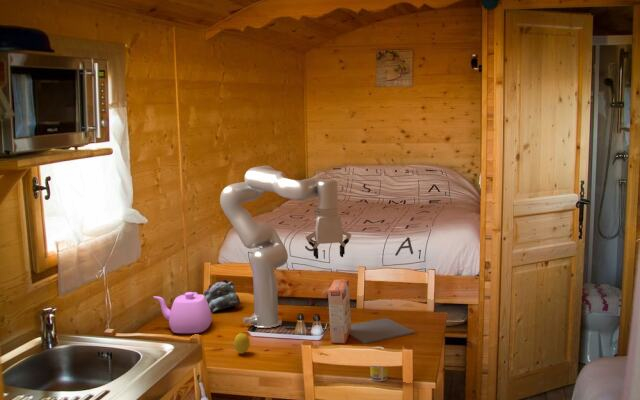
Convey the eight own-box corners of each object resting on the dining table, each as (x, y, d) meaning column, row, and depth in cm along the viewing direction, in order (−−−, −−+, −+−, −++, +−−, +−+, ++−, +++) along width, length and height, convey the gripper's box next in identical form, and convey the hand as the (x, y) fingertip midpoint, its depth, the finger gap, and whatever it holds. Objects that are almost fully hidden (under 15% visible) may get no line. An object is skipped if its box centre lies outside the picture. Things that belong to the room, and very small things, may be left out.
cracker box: (346, 344, 258) (342, 289, 254) (330, 343, 259) (326, 289, 256) (352, 330, 271) (349, 278, 268) (337, 330, 273) (333, 278, 269)
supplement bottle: (384, 374, 229) (384, 344, 228) (389, 381, 224) (389, 350, 222) (368, 376, 228) (368, 346, 227) (372, 382, 223) (372, 352, 221)
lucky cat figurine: (204, 314, 298) (197, 283, 302) (212, 317, 309) (205, 287, 313) (238, 303, 297) (230, 273, 301) (244, 307, 309) (236, 277, 313)
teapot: (216, 319, 292) (214, 284, 289) (208, 336, 271) (206, 298, 269) (162, 320, 292) (160, 285, 290) (149, 337, 271) (147, 299, 269)
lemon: (234, 351, 253) (233, 330, 252) (250, 350, 254) (249, 329, 252) (234, 357, 248) (233, 335, 247) (249, 356, 248) (249, 334, 247)
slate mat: (364, 343, 258) (364, 342, 258) (337, 328, 276) (337, 327, 276) (414, 333, 269) (414, 331, 269) (386, 319, 286) (386, 317, 286)
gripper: (306, 215, 255) (308, 261, 257) (352, 212, 258) (353, 257, 260) (303, 212, 262) (305, 256, 265) (348, 209, 265) (349, 253, 268)
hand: (329, 257), depth 262 cm, fingers open, 9 cm apart
